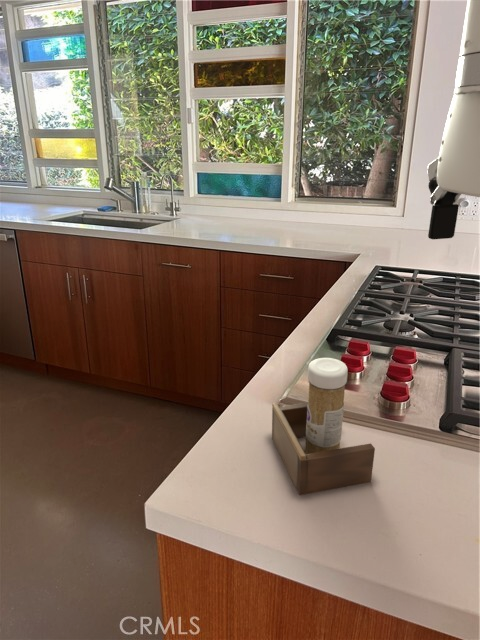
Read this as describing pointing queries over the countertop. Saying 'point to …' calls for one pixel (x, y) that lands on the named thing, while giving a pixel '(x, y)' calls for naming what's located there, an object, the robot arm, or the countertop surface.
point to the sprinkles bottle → (325, 404)
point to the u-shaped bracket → (317, 455)
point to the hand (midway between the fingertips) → (467, 247)
